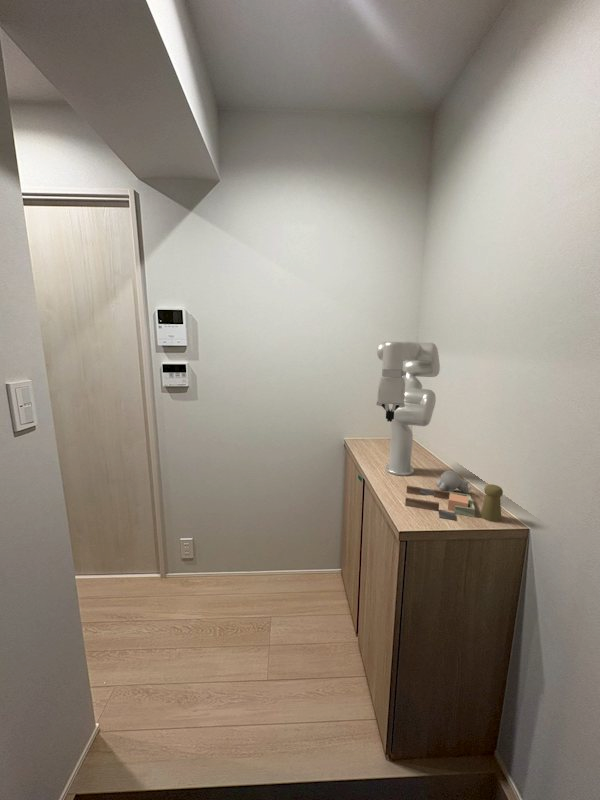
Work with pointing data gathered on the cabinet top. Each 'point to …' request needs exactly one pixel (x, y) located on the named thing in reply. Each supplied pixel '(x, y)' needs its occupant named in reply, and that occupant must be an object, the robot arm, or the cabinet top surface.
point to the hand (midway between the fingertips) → (389, 420)
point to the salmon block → (457, 501)
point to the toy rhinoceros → (452, 482)
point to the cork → (492, 503)
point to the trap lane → (435, 505)
